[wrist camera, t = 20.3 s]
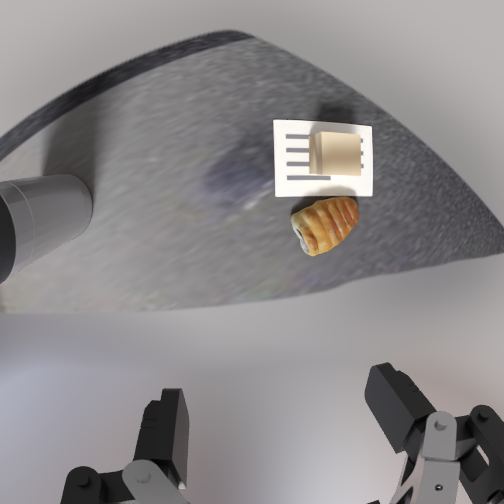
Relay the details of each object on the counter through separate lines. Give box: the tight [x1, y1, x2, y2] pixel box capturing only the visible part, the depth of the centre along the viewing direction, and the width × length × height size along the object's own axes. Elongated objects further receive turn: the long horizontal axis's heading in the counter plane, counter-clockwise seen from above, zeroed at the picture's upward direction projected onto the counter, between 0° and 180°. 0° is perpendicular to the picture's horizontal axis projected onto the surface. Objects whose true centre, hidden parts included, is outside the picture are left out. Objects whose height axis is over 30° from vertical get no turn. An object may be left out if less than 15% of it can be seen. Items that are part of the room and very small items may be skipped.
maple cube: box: [308, 132, 361, 176], centre depth 33 cm, size 5×5×5 cm
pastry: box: [290, 196, 359, 256], centre depth 37 cm, size 9×7×4 cm
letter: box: [273, 120, 373, 197], centre depth 36 cm, size 14×10×1 cm
